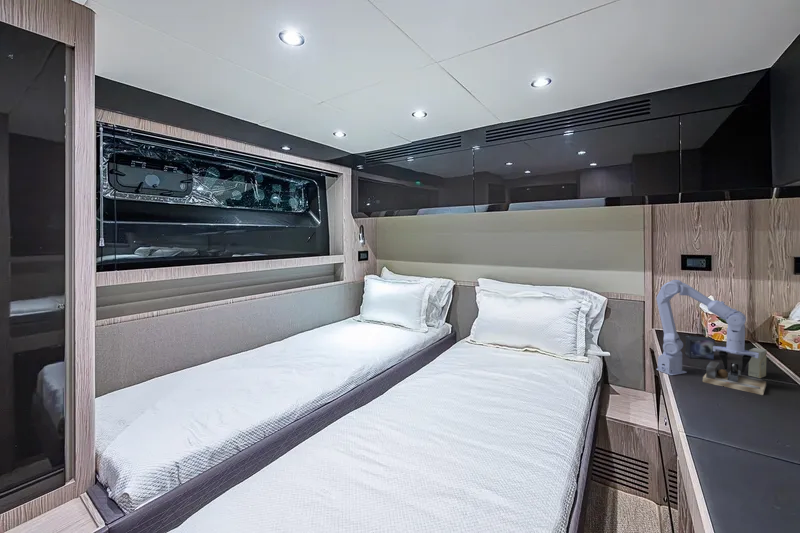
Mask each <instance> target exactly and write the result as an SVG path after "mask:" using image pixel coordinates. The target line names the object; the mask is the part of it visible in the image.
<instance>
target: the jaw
mask: <svg viewBox="0 0 800 533" xmlns="http://www.w3.org/2000/svg"><path fill="white" fill-rule="evenodd" d="M739 366H740V365H739V363H738V362H730V369H729V370H730V371H729V372H728V373H729V374H728V380H729V381H734V382H738V381H739V379H740V376H741V373H742V369H741V370H740V369H739Z"/></svg>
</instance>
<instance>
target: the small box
mask: <svg viewBox="0 0 800 533" xmlns="http://www.w3.org/2000/svg"><path fill="white" fill-rule="evenodd" d="M715 342H716V341H715V339H713V338H711V337H708V336H695V335H694V336H692V335H685V351H684V352H685V353H684V354H685V356H687V358H689V359H695V360H696V359H697V360H708V361H709V360H710V361H714V360H715V351H713V346H716V345H715Z"/></svg>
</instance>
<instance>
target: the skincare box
mask: <svg viewBox="0 0 800 533" xmlns="http://www.w3.org/2000/svg"><path fill="white" fill-rule="evenodd" d="M748 351H752V352H757V353H759V358H755V357H751V359H750V361H749V362H748V369H747V371H748V373H747V375H748V377H752V378H758V379H762V378H765V377H766V376H767V355H768V354H767V353H768V352H767V351H768V350H767V349H764V348H760V347H759V348H757V347H753V348H751V349H749V350H748Z"/></svg>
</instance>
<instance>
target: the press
mask: <svg viewBox="0 0 800 533" xmlns="http://www.w3.org/2000/svg"><path fill="white" fill-rule="evenodd" d="M705 369H706V370H705V372H706V373H705V374H704V375H703V376H702V383H705V384H710V385H714V386H721V387H723V386H724V388H727V389H728V388H729V389H733V390H737V391H743V392H748V393H752V394H756V395H759V396H760V395H761V396H764V393H765V390H766V387H767V381H764V379H762V378H756V377H752V376H747V375H741V376H740V379H739V381H738V382H734V381H729V380H728V374H729V372H728V371H727V369H725V368H724V369H722V368H721V369H720V362H719V361H714V360H710V361H709V363H708V364H707V365H706V368H705Z"/></svg>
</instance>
